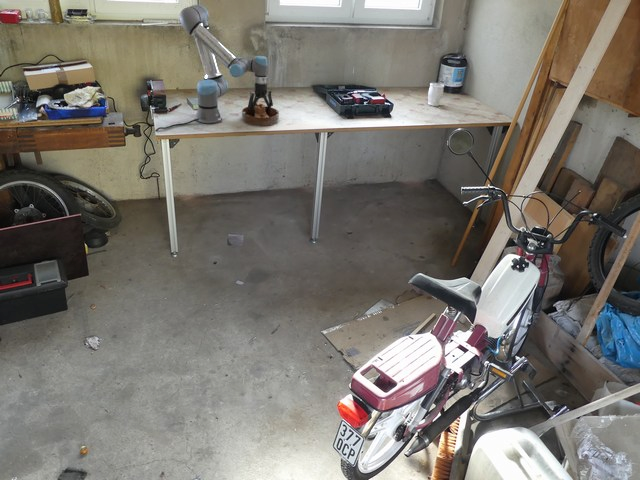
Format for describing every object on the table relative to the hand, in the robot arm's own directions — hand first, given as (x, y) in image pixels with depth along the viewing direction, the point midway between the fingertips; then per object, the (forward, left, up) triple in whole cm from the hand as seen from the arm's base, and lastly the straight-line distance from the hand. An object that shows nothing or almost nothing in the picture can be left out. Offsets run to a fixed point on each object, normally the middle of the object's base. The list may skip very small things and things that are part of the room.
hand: (260, 118), depth 336 cm
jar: (+137, -17, -1) cm, 138 cm away
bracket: (0, 0, 0) cm, 0 cm away
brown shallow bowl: (0, 0, -1) cm, 1 cm away
